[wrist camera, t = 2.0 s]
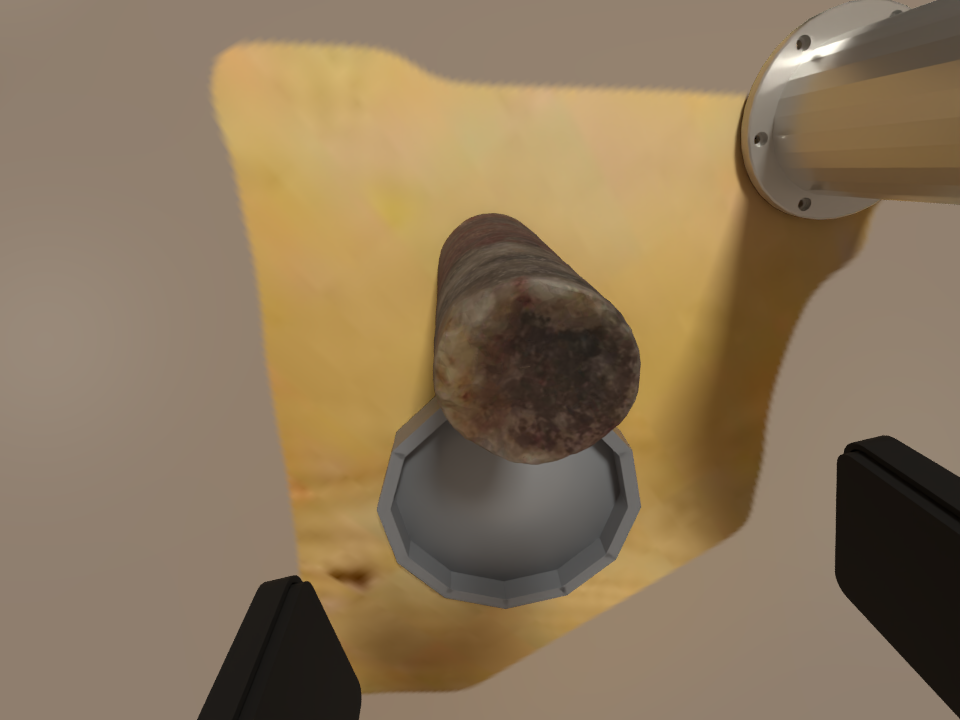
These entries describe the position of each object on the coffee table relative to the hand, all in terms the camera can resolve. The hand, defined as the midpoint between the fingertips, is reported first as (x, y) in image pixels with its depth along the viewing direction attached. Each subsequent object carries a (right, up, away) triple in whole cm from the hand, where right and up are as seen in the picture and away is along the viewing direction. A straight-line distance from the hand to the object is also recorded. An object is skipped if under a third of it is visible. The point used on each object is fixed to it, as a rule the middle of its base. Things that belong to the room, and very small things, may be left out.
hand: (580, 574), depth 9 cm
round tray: (0, -7, +33) cm, 34 cm away
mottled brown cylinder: (-1, +10, +27) cm, 29 cm away
